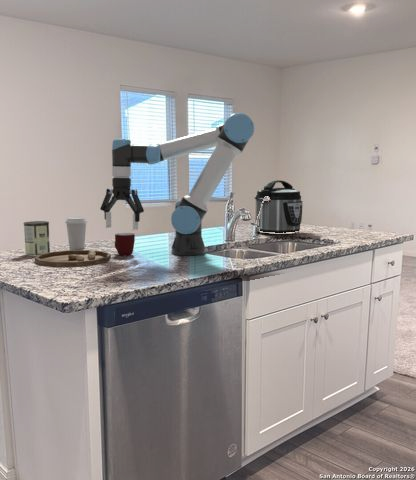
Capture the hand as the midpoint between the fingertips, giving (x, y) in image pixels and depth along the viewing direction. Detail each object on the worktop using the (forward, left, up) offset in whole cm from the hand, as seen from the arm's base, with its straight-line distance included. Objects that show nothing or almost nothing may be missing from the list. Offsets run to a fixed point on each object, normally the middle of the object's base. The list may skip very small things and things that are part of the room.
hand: (121, 228), depth 199 cm
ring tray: (+10, +19, -12) cm, 24 cm away
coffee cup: (+29, -5, -12) cm, 32 cm away
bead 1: (+3, +23, -11) cm, 25 cm away
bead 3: (+2, +17, -11) cm, 20 cm away
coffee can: (+37, +11, -12) cm, 40 cm away
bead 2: (+6, +12, -11) cm, 18 cm away
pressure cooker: (-33, -113, -12) cm, 119 cm away
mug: (0, 0, -12) cm, 12 cm away
